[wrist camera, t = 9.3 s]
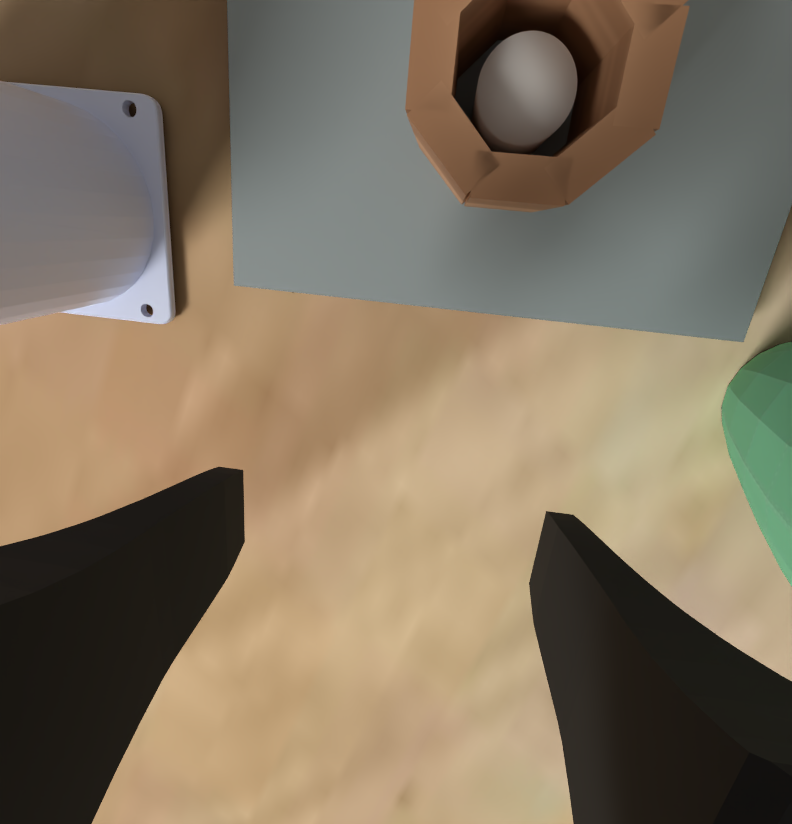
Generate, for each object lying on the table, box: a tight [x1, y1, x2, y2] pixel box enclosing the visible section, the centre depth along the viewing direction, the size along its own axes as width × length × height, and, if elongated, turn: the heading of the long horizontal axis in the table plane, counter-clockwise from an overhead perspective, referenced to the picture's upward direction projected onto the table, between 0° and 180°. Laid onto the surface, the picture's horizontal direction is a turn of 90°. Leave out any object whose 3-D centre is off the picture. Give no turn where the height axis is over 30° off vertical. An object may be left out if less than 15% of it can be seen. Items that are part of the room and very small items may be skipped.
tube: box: [405, 0, 690, 212], centre depth 13 cm, size 6×6×5 cm
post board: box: [227, 0, 792, 342], centre depth 14 cm, size 18×12×5 cm, turn 85°
